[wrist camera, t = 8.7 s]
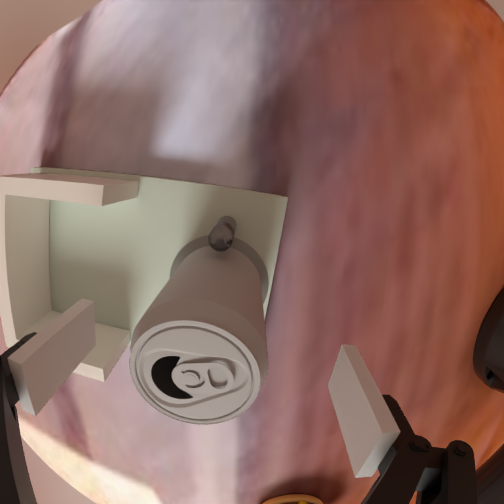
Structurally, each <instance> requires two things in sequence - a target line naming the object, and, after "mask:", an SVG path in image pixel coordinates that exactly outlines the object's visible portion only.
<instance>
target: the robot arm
mask: <svg viewBox="0 0 504 504" xmlns="http://www.w3.org/2000/svg"><path fill="white" fill-rule="evenodd" d="M95 346H96V334H95V314H94V301H91V300H87V299H83V298H82V299H81V300H79V301H78V302H77V303H75V304H74V305H73V306H71V307H70V308H69V309H68V310H66V311H65V312H64V313H62V314H61V315H60V316H59V317H57V318H56V319H55V320H53V321H52V322H51V323H50V324H48V325H47V326H46V327H45V328H43V329H42V330H41V331H40V332H38V333H36V332H33V333H30V334H28V335H26V336H24V337H23V338H22V339H20V340H19V341H18V342H17V343H15V344H14V345H13V346H12V347H10V348H9V349H8V350H7V351H5V352H4V353H3V354H2V355H1V356H0V504H37V502H36V499H35V495H34V492H33V488H32V485H31V481H30V478H29V473H28V469H27V465H26V461H25V456H24V452H23V446H22V441H21V435H20V429H19V423H18V416H17V409H16V407H15V404H16V403H17V402H18V401H19V400H20V403H21V406H22V409H23V410H24V411H26V412H28V413H30V414H32V415H34V416H36V415H37V414H38V413H39V412H40V410H41V409H42V408H43V407H44V406H45V404H46V403H47V402H48V401H49V400H50V398H51V397H52V396H53V395H54V393H55V392H56V391H57V390H58V389H59V388H60V386H61V385H62V384H63V383H64V382H65V380H66V379H67V378H68V377H69V376H70V375H71V373H72V372H73V371H74V370H75V369H76V368H77V366H78V365H79V364H80V363H81V362H82V361H83V360H84V358H85V357H86V356H87V355H88V354H89V353H90V352H91V350H92V349H93V348H94V347H95ZM473 363H474V369H475V372H476V374H477V376H478V377H479V378H480V379H481V380H482V381H483V382H484V383H485V384H486V385H487V386H488V387H490V388H492V389H494V390H497V391H499V392H502V393H504V290H503V291H502V292H501V294H500V295H499V296H498V298H497V299H496V300H495V302H494V303H493V305H492V307H491V308H490V310H489V312H488V314H487V316H486V318H485V320H484V322H483V324H482V326H481V329H480V331H479V334H478V337H477V341H476V344H475V349H474V357H473ZM328 389H329V392H330V395H331V399H332V402H333V405H334V408H335V412H336V415H337V418H338V422H339V425H340V428H341V432H342V435H343V438H344V442H345V445H346V448H347V452H348V455H349V459H350V462H351V466H352V469H353V473H354V476H355V478H358V477H370V476H372V475H373V474H374V472H375V471H376V470H377V468H378V470H379V472H380V476H379V477H378V479H377V480H376V481H375V483H374V484H373V485H372V487H371V488H370V491H369V492H368V494H367V495H366V497H365V498H364V500H363V501H362V502H361V504H409V502H410V500H411V498H412V496H413V494H414V492H415V491H417V498H416V504H504V444H503V445H502V446H501V447H500V448H499V449H498V450H497V451H496V452H495V453H494V454H493V455H492V456H491V457H490V458H489V459H488V460H487V461H486V462H485V463H484V464H482V465H481V466H480V467H479V468H478V469H477V470H476V471H475V460H474V452H473V449H472V448H471V446H470V445H469V444H467V443H466V442H463V441H460V440H455V441H452V442H451V443H450V444H449V445H448V446H447V448H446V449H445V448H437V447H432V446H431V444H430V442H429V441H428V440H427V439H425V438H424V437H422V436H418V435H415V434H414V432H413V430H412V428H411V426H410V424H409V423H408V421H407V419H406V417H405V416H404V414H403V412H402V410H401V408H400V406H399V405H398V403H397V401H396V400H395V399H393V398H392V397H391V396H390V395H381V393H380V391H379V389H378V387H377V385H376V383H375V381H374V379H373V377H372V376H371V374H370V372H369V370H368V368H367V366H366V364H365V362H364V361H363V359H362V357H361V355H360V353H359V351H358V350H357V348H356V346H355V345H345V344H342V345H341V348H340V351H339V354H338V357H337V360H336V363H335V366H334V369H333V372H332V375H331V378H330V381H329V383H328Z"/></svg>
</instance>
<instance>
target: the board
mask: <svg viewBox="0 0 504 504" xmlns="http://www.w3.org/2000/svg"><path fill="white" fill-rule="evenodd" d="M30 173H53V174H66V175H78V176H89V177H100V178H110V179H120V180H129V181H138V182H139V184H138V192H137V198H133V199H129V200H125V201H121V202H117V203H113V204H109V205H105V206H96V205H88V204H80V203H73V202H65V201H57V200H50V213H49V272H50V290H51V303H52V310H53V311H57V312H60V313H64V312H65V311H66V310H68V309H69V308H70V307H71V306H73V305H74V304H75V303H77V302H78V301H79V300H81V299H82V298H83V299H87V300H91V301H94V314H95V322H96V323H100V324H104V325H108V326H112V327H116V328H120V329H125V330H129V331H130V343H129V345H131V339H132V335H133V332H134V329H135V327H136V325H137V324H138V322H139V321H140V319H141V318H142V316H143V315H144V313H145V312H146V311H147V309H148V308H149V306H150V305H151V304H152V302H153V301H154V300H155V298H156V297H157V295H158V294H159V293H160V291H161V290H162V289H163V287H164V286H165V284H166V283H167V282H168V280H169V279H170V278H171V276H172V275H173V274H174V272H175V271H176V270H177V268H178V267H179V266H180V264H181V263H182V262H183V260H184V259H185V258H186V257H187V256H188V255H189V254H191V253H192V252H194V251H195V250H197V249H200V248H202V247H206V246H210V245H209V242H208V237H209V234H210V232H211V231H212V229H213V228H214V226H215V225H216V223H217V222H218V221H219V219H220V218H221V217H223V216H230V217H232V218H233V219H234V220H235V221H236V231H235V234H234V238H233V242H232V245H231V248H233V249H236V250H238V251H240V252H241V253H243V254H244V255H245V256H247V257H248V258H249V259H250V260H251V262H252V263H253V264H254V266H255V267H256V269H257V271H258V273H259V276H260V280H261V288H262V298H263V309H264V320H265V316H266V311H267V306H268V301H269V296H270V291H271V286H272V280H273V275H274V270H275V265H276V260H277V255H278V249H279V244H280V239H281V233H282V228H283V222H284V217H285V211H286V206H287V200H288V198H287V197H286V196H281V195H275V194H269V193H263V192H257V191H251V190H245V189H239V188H232V187H226V186H219V185H212V184H205V183H198V182H191V181H183V180H175V179H167V178H159V177H151V176H142V175H133V174H123V173H113V172H102V171H90V170H78V169H64V168H49V167H31V171H30Z"/></svg>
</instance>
